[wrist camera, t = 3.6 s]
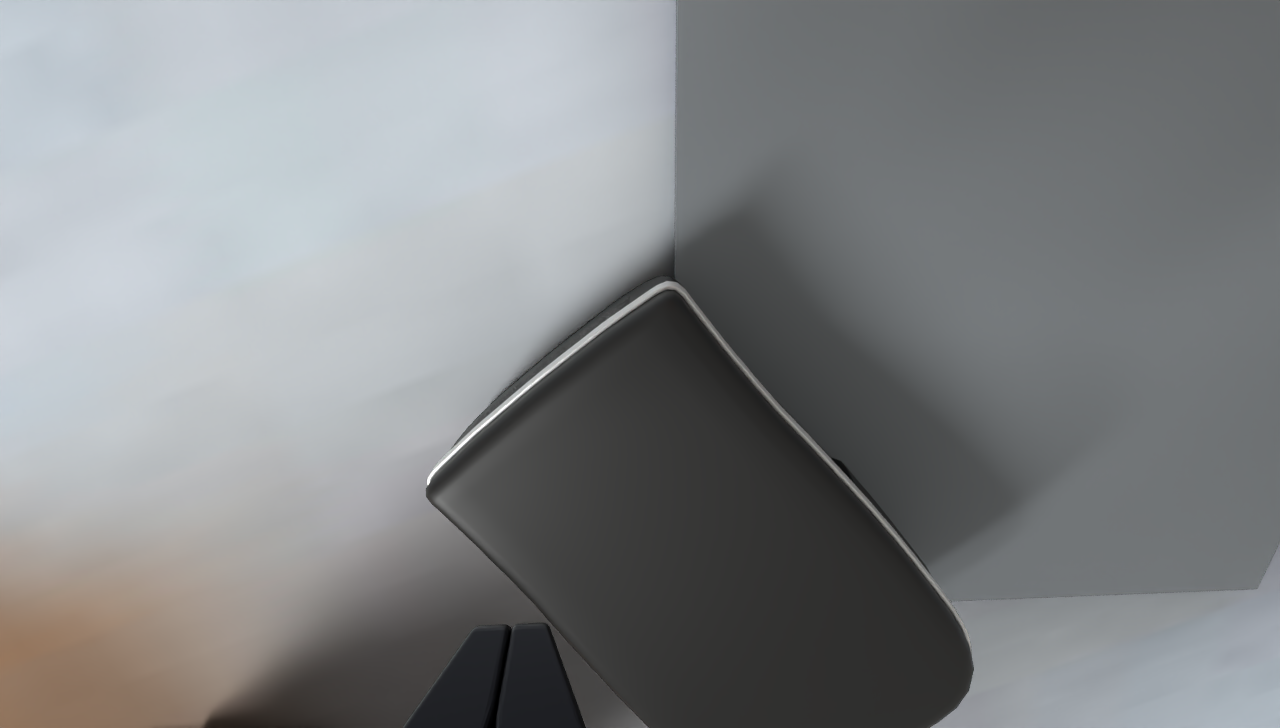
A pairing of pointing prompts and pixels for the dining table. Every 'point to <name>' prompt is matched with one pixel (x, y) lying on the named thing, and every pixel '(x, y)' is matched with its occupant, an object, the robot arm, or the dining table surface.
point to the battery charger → (700, 536)
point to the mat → (1005, 270)
